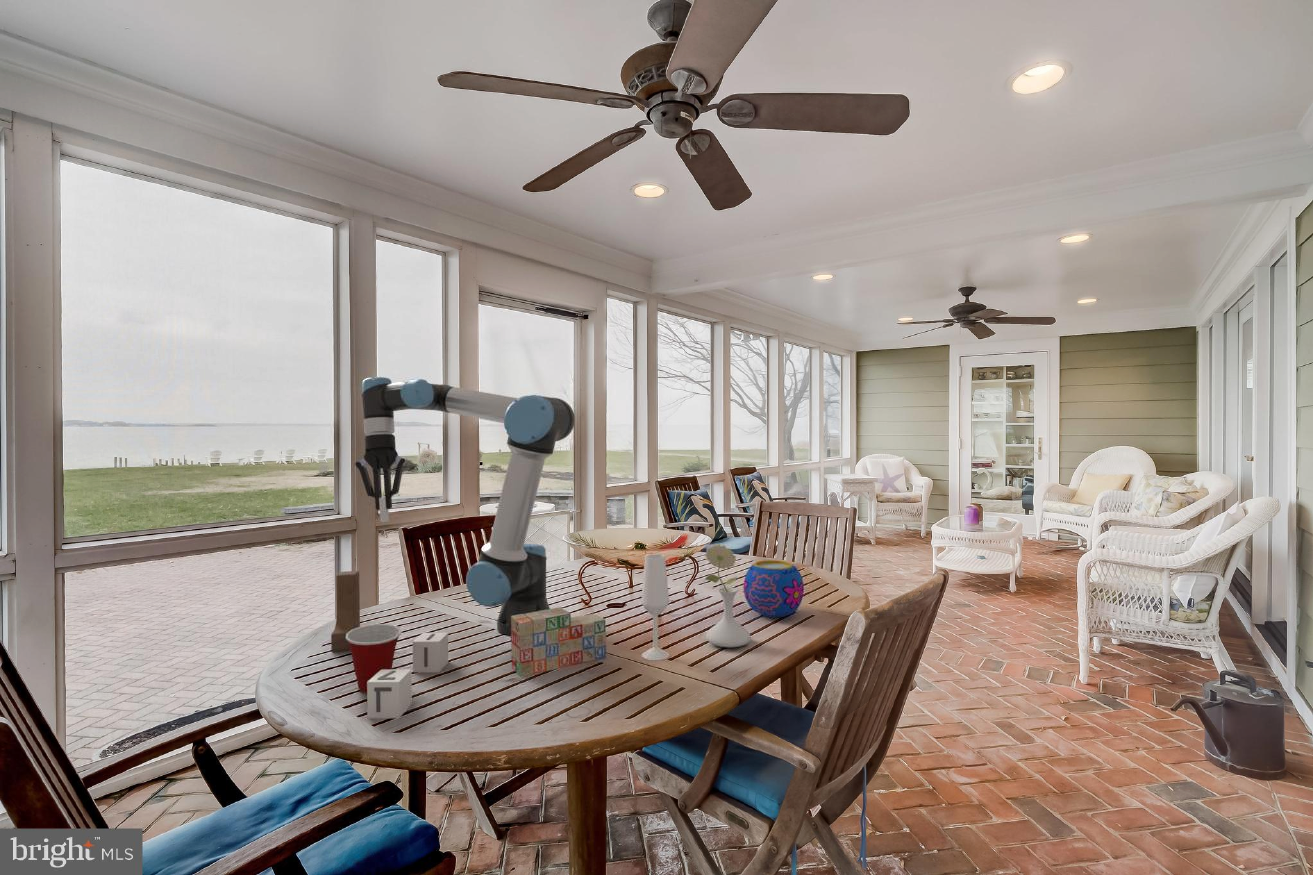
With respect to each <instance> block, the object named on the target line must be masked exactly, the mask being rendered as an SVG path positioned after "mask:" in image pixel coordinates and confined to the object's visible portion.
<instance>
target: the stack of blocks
mask: <svg viewBox="0 0 1313 875" xmlns="http://www.w3.org/2000/svg"><path fill="white" fill-rule="evenodd" d="M571 616H572V615H571V612H569V611H568V610H565V609H564V608H562V607H554V608H550V609H547V610H541V611H537V612H531V613H526V614H519V615H514V616H511V635H510V642H511V644H510V645H511V646H510V647H511V668H512V670H513V671H515V673H517V674H518V676H519V677H520V678H521V677H525V676H530V675H535V674H539V673H543V672H544V673H545V672H549V671H553V670H557V669H560V668H565V667H569V666H574V665H578V664H581V663H586V662H591V661H594V660H595V661H597V660H601V659H604V658H605V659H606V658H607V632H606V619H605V618H604V617H602V616H599V615H598V614H596V613H588V614H584V615H578V616H572V617H571Z"/></svg>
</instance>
